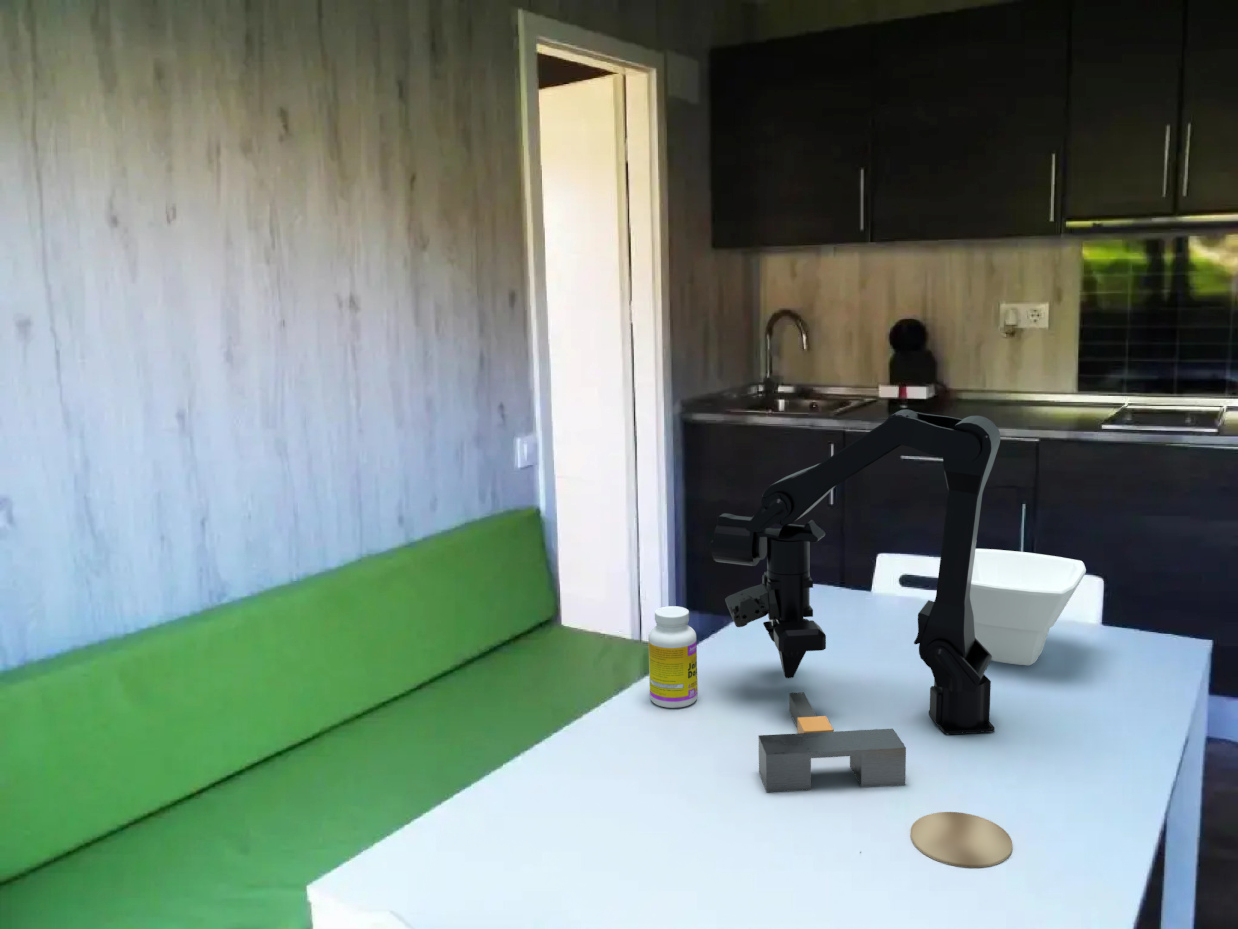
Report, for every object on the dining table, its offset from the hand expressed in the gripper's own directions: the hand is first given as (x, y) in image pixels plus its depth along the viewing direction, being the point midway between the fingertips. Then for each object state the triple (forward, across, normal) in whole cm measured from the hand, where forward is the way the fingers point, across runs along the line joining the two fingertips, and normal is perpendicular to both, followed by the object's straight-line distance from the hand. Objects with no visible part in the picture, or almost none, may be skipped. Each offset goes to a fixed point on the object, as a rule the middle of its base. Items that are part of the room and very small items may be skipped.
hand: (788, 677), depth 146 cm
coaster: (+2, +39, +10) cm, 40 cm away
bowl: (+3, -9, +35) cm, 36 cm away
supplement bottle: (+3, 0, -16) cm, 16 cm away
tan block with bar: (+3, +12, 0) cm, 12 cm away
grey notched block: (+2, +24, 0) cm, 25 cm away
